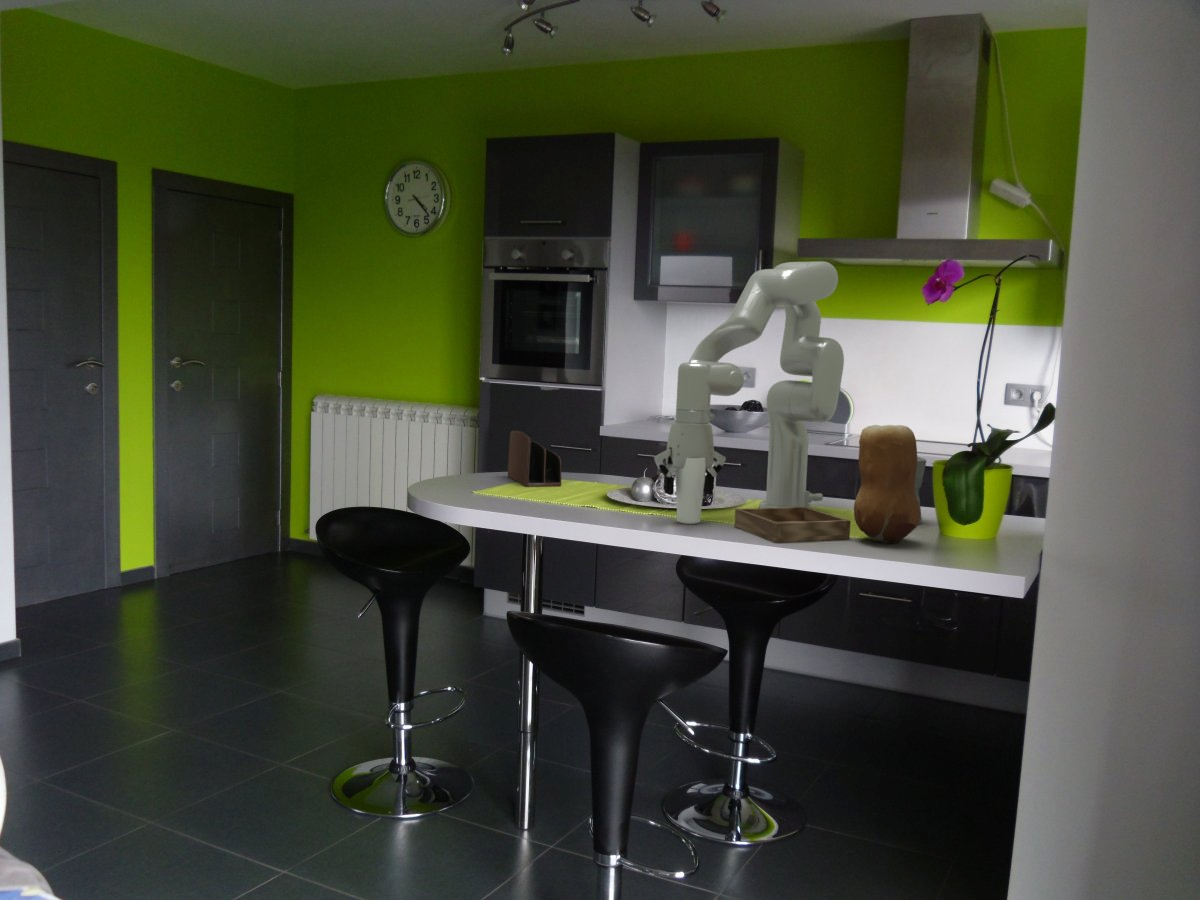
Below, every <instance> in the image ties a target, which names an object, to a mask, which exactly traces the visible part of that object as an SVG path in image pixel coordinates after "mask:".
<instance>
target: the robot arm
mask: <svg viewBox="0 0 1200 900" xmlns="http://www.w3.org/2000/svg"><path fill="white" fill-rule="evenodd" d="M838 275H839V274H838V270H836V268H835V267H834V265H833V264H831V263H829V262H827V261H789V262H784V263H783V262H782V263H780V264H778V265H776V266H774V268H765V269H759V270H756V271H755V272H753V274H752V275H751V276H750V277H749V279H748V281H747V282H746V285H745V287H744V289H743V291H742V292H741V294H740V296H739V298H738V300H737V302H736V304H735V305H734V307H733V310H732V311H731V313H730V315H729V317H728V318H727V319H726V320H725V321H723V322H722V323H721V324H720V325H719V326H716V328H714V330H712V331H711V332H709V333H708V334H707V335H706V336H705V337H704V338H703V339H702V340H701V341H700V342H699V343H698V345H696V347H695V349H694V350H693V351H694V352H693V353H692V355H691V356H690V358H689V361H687V362H686V361H685V362H682V363H681V364H679V366H678V369H677V385H676V388H677V389H676V402H675V403H676V406H675V422H672V423H671V426H670V430H669V434H668V439H667V442H666V443H667V444H666V450H664V451H662V452H660V453H658V454H657V455H655V456H654V457H653V460H654V463H655V465H656V466H657V469H658V470H659V472H660V473H661V475H662V476H663V490H664V493H665V494H666V495H669V496H672V495H674V491H675V490H674V488H675V487H674V486H675V478H674V477H673V476H674V474H675V472H676V470H677V469H682V468H684V466H685V462H686V458H705V464H706V475H705V483H704V491H703V494H706V495H713V491H714V489H715V477H716V476H718V473H719V472H720V471H721V470H722V469H723V466H724V465H725V462H726V461H727V458H726V456H724V455H722V454H721V453H719V451H718V452H717V451H716V450H715V449H714V448H715V446H714V445H715V443H714V432H713V427H712V424H710V421H711V420H714V419H715V418H716V415H715V413H713V412H711V397H712V396H719V397H729V396H735V394H737V393H739V392H740V391H741V390H742V388H743V387H744V386H743V385H744V383H745V376H744V373H743V371H742V370H741V368H740V367H739V366H737V365H735V364H734V363H730V362H721V361H720V360H721V359H722V358H723V357H724V356H725V355H727V354H729V353H731V352H732V351H734V350H735V349H738V348H741V347H743V346H745V345H749V344H751V343H753V342H754V341H757V340H758V339H759V338H760V337H761V336H762V335H763V332H764V331H765V328H766V327H767V325H768V323H769V321H770V319H771V317H772V315H773V314H774V312H775V309H776V307H778V306H779V307H780V306H781V307H782V306H783V309H784V312H785V320H784V321H785V322H784V331H783V336H782V337H783V338H782V342H781V350H780V354H779V357H780V358H779V364H780V365H779V366H780V368H781V370H782V371H783V372H784V373H786V374H788V375H792V376H799V377H800V376H801V377H812V378H811V379H812V380H811V381H805V380H803V381H802V380H790V379H789V380H788V379H787V380H779V381H777V382H775V383H774V384H772V385H771V387H770V388H769V389H768V392H767V396H766V409H767V416H768V423H769V425H768V427H769V434H768V435H769V436H768V455H767V473H766V492H765V493H766V496H765V500H763V501H760V502H759V507H758V508H781V507H808V508H812V505H811V504H810V503H812V502H823V500H824V495H823V493H812V492H810V491H809V490H807V475H808V474H807V472H808V454H809V435H808V430H807V427H806V426H805V423H804V422H809V423H817V424H818V423H826V422H828V421H830V420H831V419H832V418H833V416H834V414H835V412H836V410H837V407H838V402H839V398H840V397H839V396H840V391H841V385H842V384H841V383H842V378H843V373H844V366H845V364H844V363H845V356H844V351H843V348H842V346H841V344H840V343H839V341H837V340H836V339H834V338H831V337H823V336H822V337H820V331H821V326H822V325H821V323H822V316H821V311H820V309H819V307H818V304H817V302H816V301H819V300H824V299H826V298H828V297H830V296H831V295H832V294H833V293H834V292H835V290H836V289H837V286H838V283H839V276H838ZM719 361H720V362H719ZM714 458H715V459H716V462H715V464H714ZM664 460H665V464H666V466H665V464H664Z"/></svg>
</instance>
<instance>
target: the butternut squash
mask: <svg viewBox="0 0 1200 900" xmlns="http://www.w3.org/2000/svg"><path fill="white" fill-rule="evenodd" d="M858 444H859V448H858V469H859V474H860V487H859V490H858V493H857V495H856V498H855V500H854V504H853V506H854V507H853V517H854V521H855V523H856V526H857V527H858V529H859V531H861V532H863V533H864V534H865V535H866V536H867V537H868V538H870V539H872V541H876V542H880V543H884V544H892V545H893V544H896V543H899V542H901V541H902V540H903V539H905V538H906V537H907V536H909V535H910V534H911V533H913V531H914V530H916V528H918V526H919V525H918V523H919V519H920V516H921V517H922V513H921V514H920V508H921V505H920V506H919V503H918V500H917V497H916V493H915V476H916V469H917V457H918V447H917V440H916V436H915V434H914V432H913V430H912V429H911V428H910V427H908V426H907V425H903V424H902V425H901V424H895V425H893V424H887V425H886V424H885V425H878V424H873V425H867V426H865V427H864V428H863V429H862V430H861V432H860V437H859V443H858Z"/></svg>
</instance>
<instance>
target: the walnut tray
mask: <svg viewBox="0 0 1200 900" xmlns="http://www.w3.org/2000/svg"><path fill="white" fill-rule="evenodd" d="M851 523H852V522H851V519H850V520H849V519H845V518H843V517H840V516H836V515H833V514H830V513H827V512H823V511H820V510H818V509H815V508H812V507H811V508H808V507H781V508H760V507H757V508H756V507H754V508H735V512H734V528H736V527H738V528H737V529H739V528H741V529H743V530H742V531H744V530H745V532H747V531H748V532H747V533H749V534H752V535H754V536H757V537H759V538H762V539H765V540H768V541H770V542H773V543H775V544H776V543H777V544H778V543H799V542H798V541H803V542H818V541H819V542H821V540H824V541H840V540H841V541H842V540H843V541H844V540H846V541H847V540H850V538H851V536H850V535H851ZM741 529H740V530H741Z"/></svg>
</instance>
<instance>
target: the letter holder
mask: <svg viewBox="0 0 1200 900" xmlns="http://www.w3.org/2000/svg"><path fill="white" fill-rule="evenodd" d="M508 447H509V448H508V460H507V461H508V462H507V477H508V478H510V479H511V480H513V481H515V482H517V483H519V484H520V485H522V486H523V487H525V488H545V487H546V488H548V487H550V488H551V487H554V488H555V487H557V488H558V487H562V459H561V457H560V456H559V455H558V454H557V453H556V452H553V451H552V450H550V449H548V448H545V447H544V446H543V445H541V444H540V443H538V442H537V441H534V440H531V437H530V436H528V435H527V434H526V433H524V432H523V431H521V430H511V431H510V433H509V446H508Z"/></svg>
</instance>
